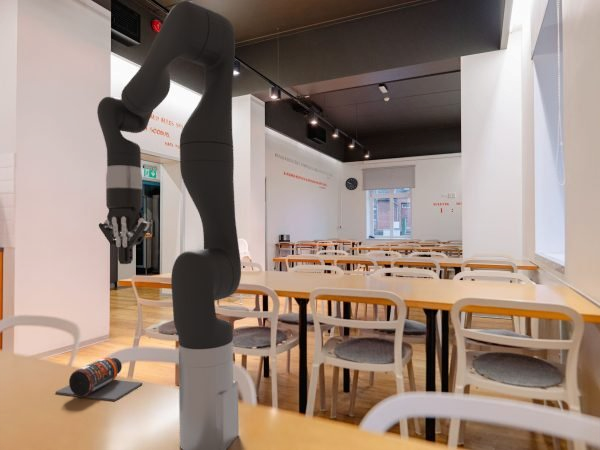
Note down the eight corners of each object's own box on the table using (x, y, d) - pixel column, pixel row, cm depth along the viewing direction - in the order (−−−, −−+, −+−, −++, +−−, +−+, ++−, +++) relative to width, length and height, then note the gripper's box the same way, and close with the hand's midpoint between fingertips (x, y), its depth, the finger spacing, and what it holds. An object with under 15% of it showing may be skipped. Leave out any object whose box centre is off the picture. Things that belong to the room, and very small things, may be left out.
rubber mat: (142, 384, 93) (142, 382, 93) (114, 401, 84) (114, 399, 84) (87, 378, 97) (87, 376, 97) (55, 393, 88) (55, 391, 88)
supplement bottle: (82, 365, 85) (118, 349, 96) (63, 378, 86) (100, 360, 97) (95, 390, 84) (129, 370, 95) (75, 402, 85) (111, 381, 96)
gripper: (159, 188, 91) (160, 262, 91) (112, 190, 94) (113, 261, 94) (138, 184, 84) (139, 265, 84) (87, 187, 87) (88, 265, 87)
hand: (125, 263), depth 89 cm, fingers closed
